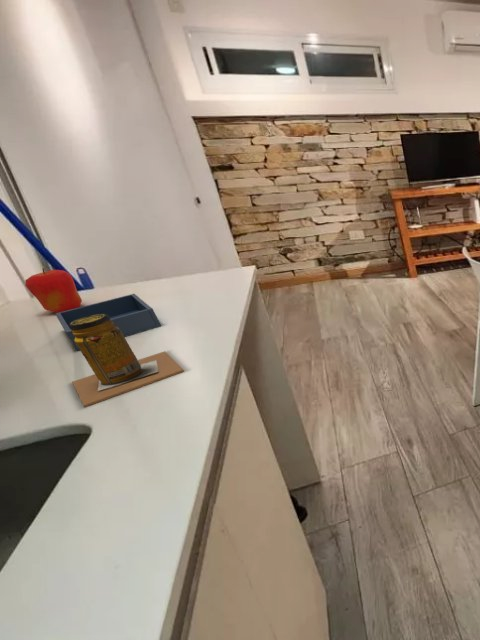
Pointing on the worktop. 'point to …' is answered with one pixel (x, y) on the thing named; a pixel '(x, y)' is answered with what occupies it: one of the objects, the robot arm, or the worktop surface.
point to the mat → (89, 385)
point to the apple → (54, 290)
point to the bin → (114, 315)
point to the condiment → (108, 351)
